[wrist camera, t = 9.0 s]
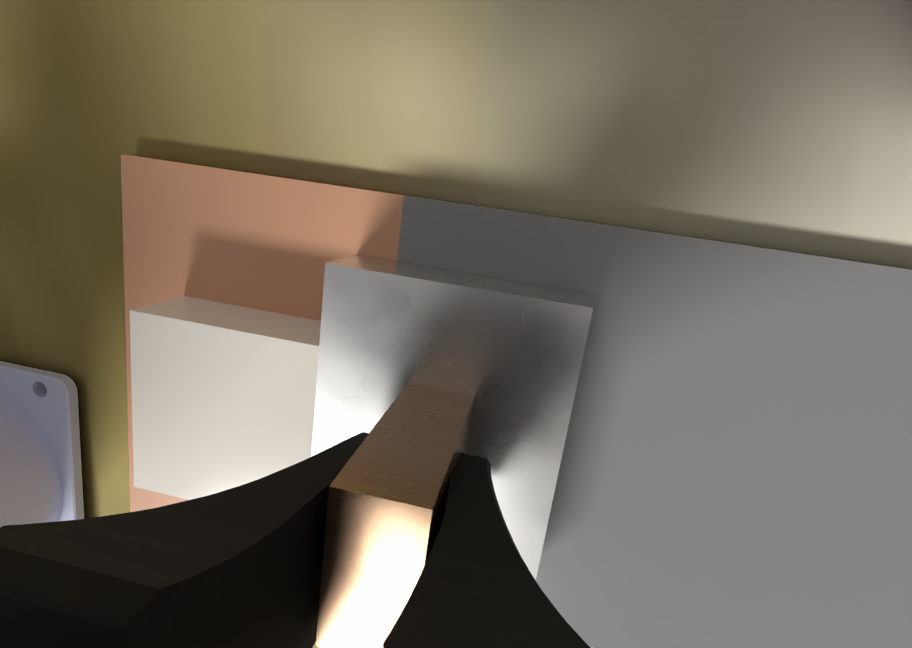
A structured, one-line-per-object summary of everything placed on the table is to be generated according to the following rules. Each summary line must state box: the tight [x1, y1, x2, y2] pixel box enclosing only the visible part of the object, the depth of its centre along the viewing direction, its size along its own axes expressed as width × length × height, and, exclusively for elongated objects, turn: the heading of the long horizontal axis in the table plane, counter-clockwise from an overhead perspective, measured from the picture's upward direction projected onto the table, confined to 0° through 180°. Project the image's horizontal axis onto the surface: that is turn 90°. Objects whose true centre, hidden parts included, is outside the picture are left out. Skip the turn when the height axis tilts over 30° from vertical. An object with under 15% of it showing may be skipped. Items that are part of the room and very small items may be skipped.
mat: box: [121, 154, 912, 648], centre depth 14 cm, size 23×12×1 cm, turn 82°
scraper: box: [311, 254, 593, 648], centre depth 11 cm, size 6×8×6 cm
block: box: [130, 296, 321, 500], centre depth 14 cm, size 5×5×2 cm
